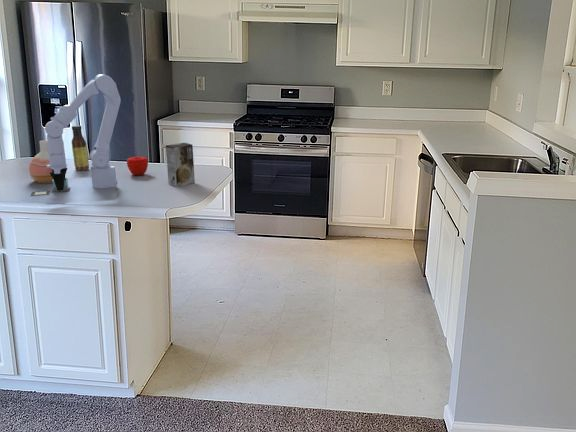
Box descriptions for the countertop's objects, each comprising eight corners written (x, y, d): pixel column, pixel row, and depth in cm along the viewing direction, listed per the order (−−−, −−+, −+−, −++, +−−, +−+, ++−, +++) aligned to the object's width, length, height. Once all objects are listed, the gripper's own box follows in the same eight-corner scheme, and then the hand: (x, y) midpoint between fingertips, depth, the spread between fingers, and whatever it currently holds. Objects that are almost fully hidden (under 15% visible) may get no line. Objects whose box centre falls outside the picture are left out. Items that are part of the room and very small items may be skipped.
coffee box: (186, 180, 237) (184, 142, 232) (195, 183, 232) (193, 144, 228) (167, 184, 231) (165, 144, 226) (176, 186, 226) (174, 146, 222)
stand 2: (71, 190, 220) (70, 187, 220) (70, 194, 214) (69, 191, 214) (53, 191, 219) (52, 188, 218) (51, 195, 213) (51, 192, 212)
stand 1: (51, 193, 216) (50, 190, 215) (49, 197, 210) (49, 194, 209) (32, 194, 214) (32, 191, 213) (30, 199, 208) (30, 195, 207)
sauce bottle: (92, 169, 258) (87, 125, 253) (81, 171, 253) (76, 127, 248) (83, 167, 262) (78, 124, 256) (71, 169, 257) (66, 126, 251)
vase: (73, 180, 236) (68, 139, 231) (52, 188, 223) (46, 144, 218) (45, 179, 239) (40, 137, 234) (23, 186, 227) (17, 142, 222)
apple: (133, 178, 241) (132, 160, 239) (124, 174, 247) (122, 157, 245) (152, 175, 247) (151, 157, 244) (143, 171, 253) (141, 154, 251)
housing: (68, 188, 219) (67, 176, 218) (67, 191, 215) (66, 179, 213) (54, 188, 218) (53, 177, 216) (53, 192, 213) (52, 180, 212)
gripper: (47, 150, 218) (51, 184, 221) (43, 157, 204) (48, 193, 208) (66, 149, 220) (70, 183, 223) (64, 156, 206) (68, 192, 210)
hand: (60, 188), depth 216 cm, fingers closed on housing, 5 cm apart
